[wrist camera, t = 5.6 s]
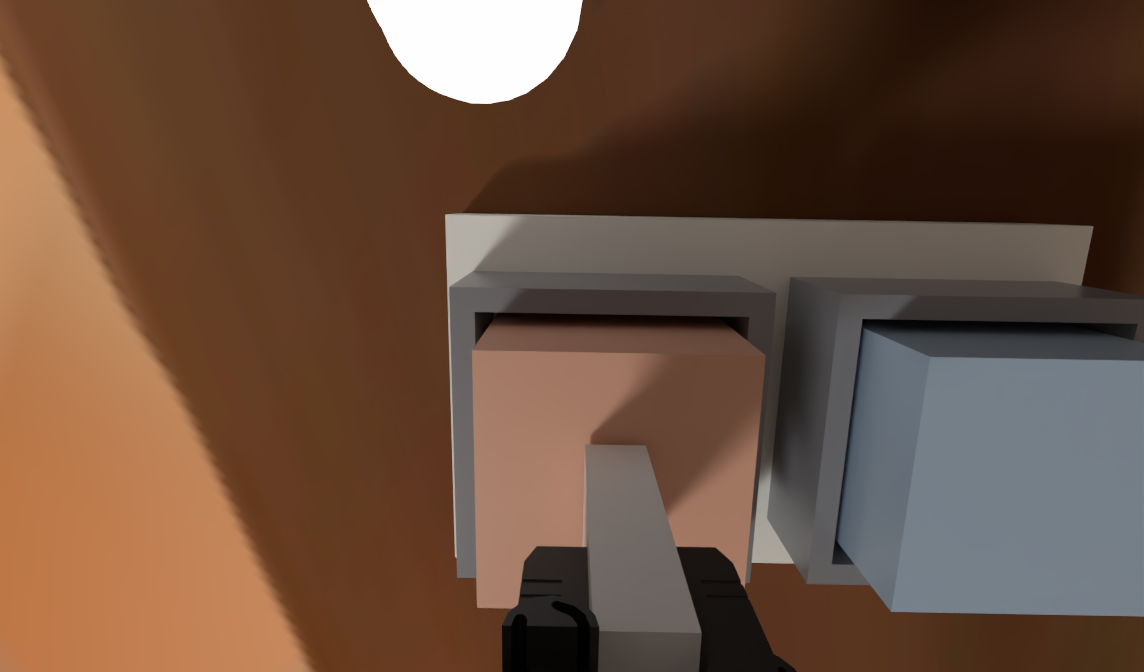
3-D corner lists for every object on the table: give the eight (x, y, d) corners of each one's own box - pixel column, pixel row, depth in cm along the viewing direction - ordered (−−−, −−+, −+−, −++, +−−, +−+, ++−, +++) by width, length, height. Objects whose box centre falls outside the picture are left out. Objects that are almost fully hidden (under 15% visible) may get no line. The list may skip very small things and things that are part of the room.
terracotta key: (498, 312, 19) (471, 350, 14) (716, 316, 19) (765, 355, 14) (500, 511, 21) (477, 607, 16) (702, 515, 21) (742, 612, 16)
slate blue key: (839, 318, 19) (930, 357, 14) (1057, 321, 19) (1221, 362, 14) (816, 515, 21) (891, 611, 16) (1018, 519, 21) (1154, 616, 16)
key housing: (461, 213, 23) (414, 217, 16) (1028, 223, 23) (1217, 231, 16) (468, 517, 26) (430, 629, 19) (972, 526, 26) (1115, 641, 19)
